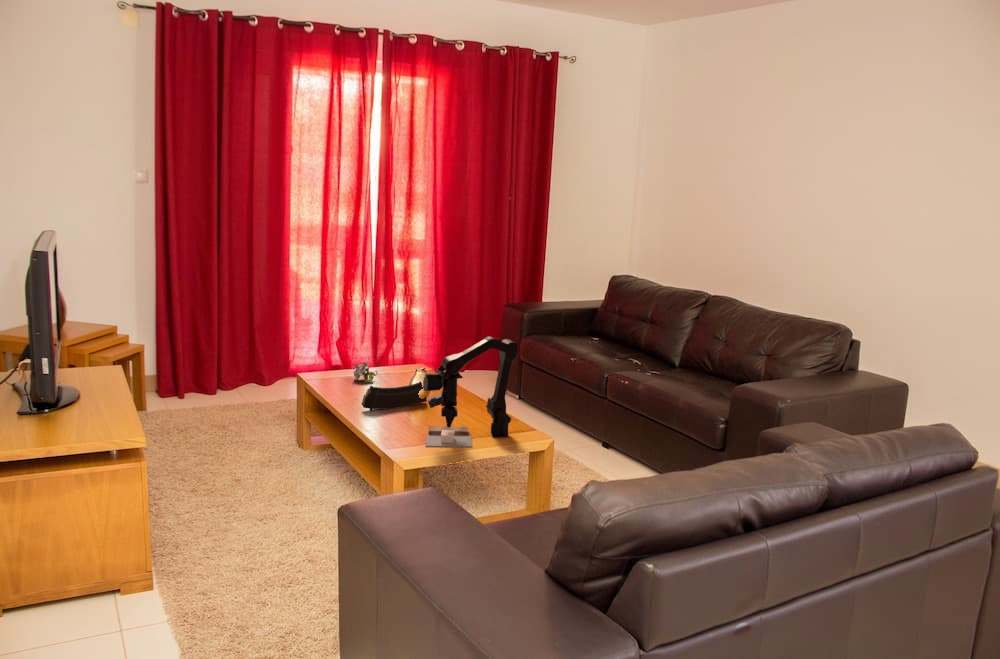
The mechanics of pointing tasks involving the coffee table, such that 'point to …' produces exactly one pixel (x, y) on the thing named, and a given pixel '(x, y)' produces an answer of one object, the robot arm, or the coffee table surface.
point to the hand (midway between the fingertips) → (448, 427)
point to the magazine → (392, 397)
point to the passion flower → (363, 372)
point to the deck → (438, 429)
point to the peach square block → (448, 436)
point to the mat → (458, 442)
